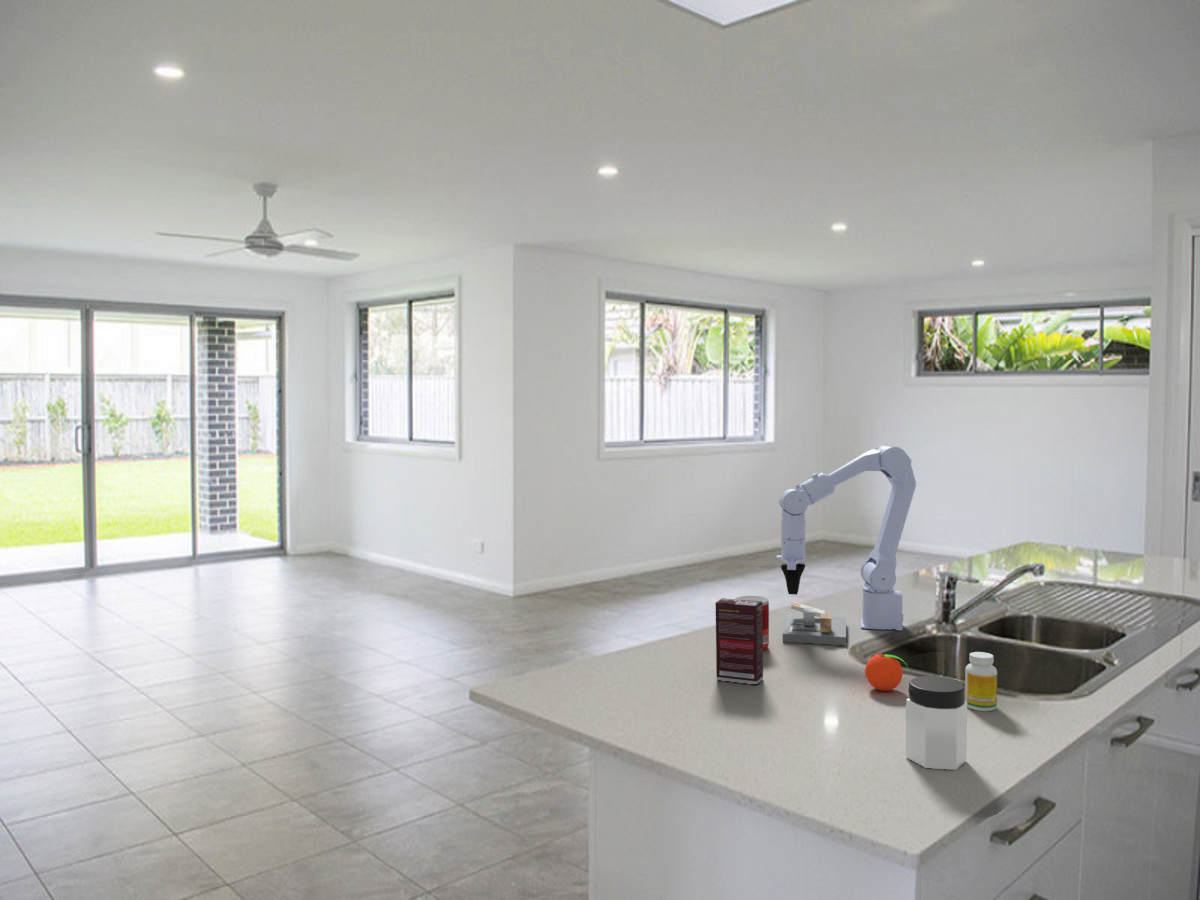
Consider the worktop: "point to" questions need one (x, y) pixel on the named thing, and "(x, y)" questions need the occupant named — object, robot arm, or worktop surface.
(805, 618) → the steel slider
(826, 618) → the oak slider
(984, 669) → the supplement bottle
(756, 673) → the supplement box
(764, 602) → the canned food
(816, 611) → the block
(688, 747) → the worktop surface
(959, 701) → the jar
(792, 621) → the console
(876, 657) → the clementine
